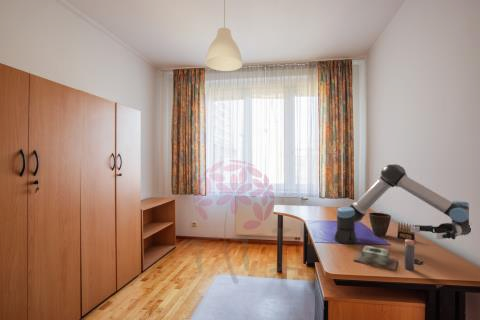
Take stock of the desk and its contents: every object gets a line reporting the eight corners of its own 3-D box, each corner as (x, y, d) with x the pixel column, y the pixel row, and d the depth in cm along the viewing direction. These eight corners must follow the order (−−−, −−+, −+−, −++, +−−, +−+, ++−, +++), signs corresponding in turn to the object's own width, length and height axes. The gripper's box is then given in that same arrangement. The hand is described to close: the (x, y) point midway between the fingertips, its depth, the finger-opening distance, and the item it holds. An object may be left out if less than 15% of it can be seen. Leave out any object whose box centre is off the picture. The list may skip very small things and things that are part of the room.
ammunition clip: (415, 240, 176) (415, 224, 176) (414, 241, 175) (414, 224, 175) (398, 237, 184) (398, 221, 184) (397, 237, 183) (397, 221, 183)
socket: (353, 261, 138) (353, 250, 138) (358, 252, 151) (358, 243, 151) (395, 270, 126) (395, 259, 126) (397, 260, 139) (397, 250, 139)
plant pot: (391, 239, 179) (392, 217, 179) (369, 236, 186) (369, 215, 186) (389, 234, 193) (389, 213, 193) (368, 231, 199) (368, 211, 200)
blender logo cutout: (404, 258, 144) (404, 257, 144) (418, 259, 143) (418, 258, 143) (412, 264, 135) (412, 263, 135) (427, 266, 133) (427, 264, 133)
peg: (404, 269, 128) (404, 240, 128) (405, 266, 131) (405, 238, 131) (414, 271, 125) (414, 242, 125) (414, 268, 129) (414, 240, 129)
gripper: (476, 243, 126) (450, 247, 119) (426, 230, 150) (401, 233, 143) (476, 228, 127) (449, 232, 120) (426, 218, 150) (401, 221, 143)
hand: (423, 233), depth 131 cm, fingers open, 13 cm apart
